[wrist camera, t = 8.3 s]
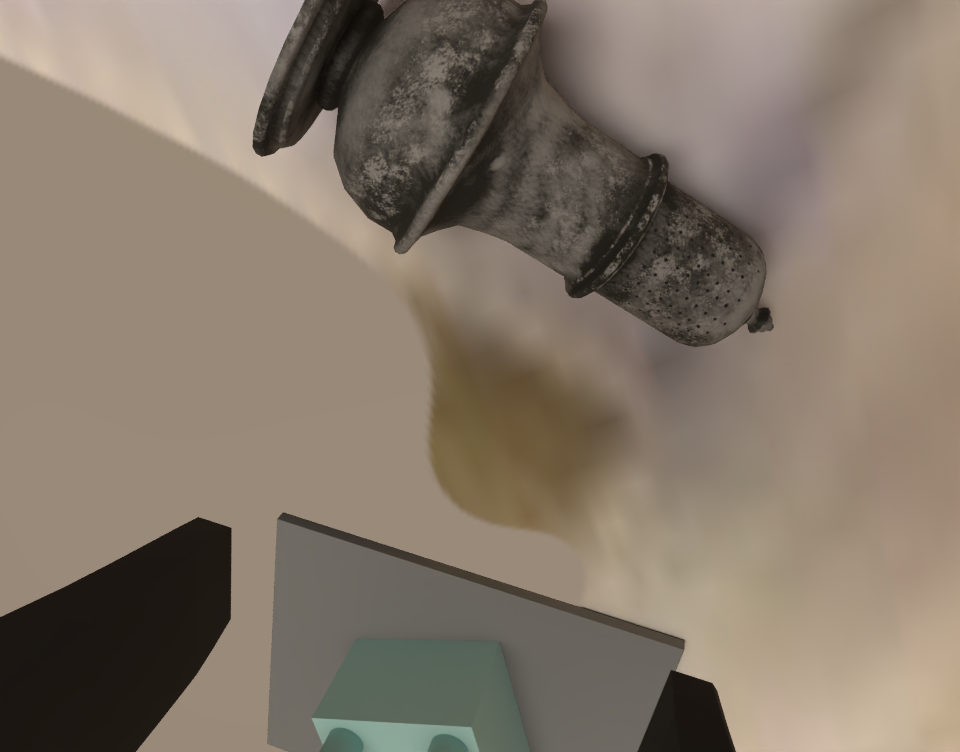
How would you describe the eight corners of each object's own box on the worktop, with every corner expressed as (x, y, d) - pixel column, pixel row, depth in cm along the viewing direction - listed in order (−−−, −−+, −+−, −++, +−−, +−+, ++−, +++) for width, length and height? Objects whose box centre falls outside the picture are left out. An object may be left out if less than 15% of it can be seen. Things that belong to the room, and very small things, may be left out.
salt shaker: (371, -10, 18) (749, 243, 21) (252, 195, 17) (658, 429, 20) (410, -187, 12) (924, 193, 15) (234, 106, 12) (806, 451, 14)
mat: (684, 640, 23) (684, 650, 23) (595, 856, 29) (594, 866, 29) (283, 512, 26) (277, 518, 25) (272, 735, 31) (267, 743, 31)
